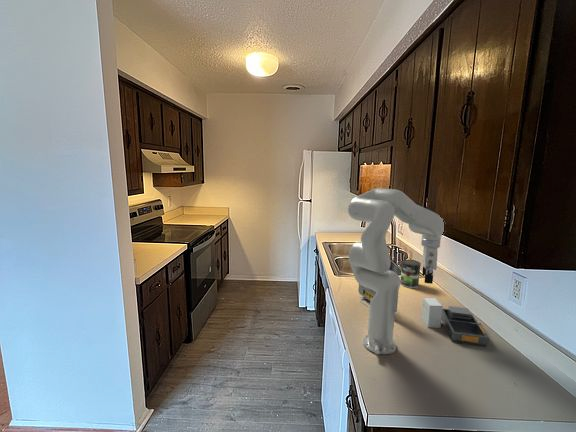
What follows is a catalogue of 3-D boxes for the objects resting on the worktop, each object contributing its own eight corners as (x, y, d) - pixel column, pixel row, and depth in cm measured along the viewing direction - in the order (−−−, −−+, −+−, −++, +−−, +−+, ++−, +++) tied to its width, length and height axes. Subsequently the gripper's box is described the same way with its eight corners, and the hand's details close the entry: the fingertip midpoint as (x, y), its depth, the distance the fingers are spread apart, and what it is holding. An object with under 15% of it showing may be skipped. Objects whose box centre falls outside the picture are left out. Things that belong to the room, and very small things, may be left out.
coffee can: (416, 289, 173) (418, 266, 170) (397, 285, 179) (399, 262, 176) (420, 284, 181) (422, 261, 179) (402, 279, 187) (404, 258, 185)
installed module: (470, 327, 132) (472, 314, 131) (450, 324, 135) (451, 312, 133) (466, 320, 138) (467, 308, 137) (447, 317, 140) (448, 305, 139)
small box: (440, 328, 133) (443, 306, 131) (427, 327, 133) (430, 305, 132) (433, 318, 141) (435, 297, 139) (421, 318, 141) (423, 297, 139)
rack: (487, 347, 120) (488, 337, 119) (452, 342, 123) (453, 332, 122) (469, 320, 140) (470, 311, 140) (440, 316, 144) (441, 307, 143)
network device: (400, 316, 143) (403, 276, 139) (385, 319, 139) (388, 279, 136) (367, 294, 166) (369, 259, 162) (353, 296, 163) (355, 261, 159)
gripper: (443, 248, 125) (439, 287, 128) (437, 238, 141) (433, 273, 144) (423, 247, 127) (419, 285, 130) (419, 237, 143) (416, 271, 146)
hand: (427, 278), depth 137 cm, fingers open, 9 cm apart
